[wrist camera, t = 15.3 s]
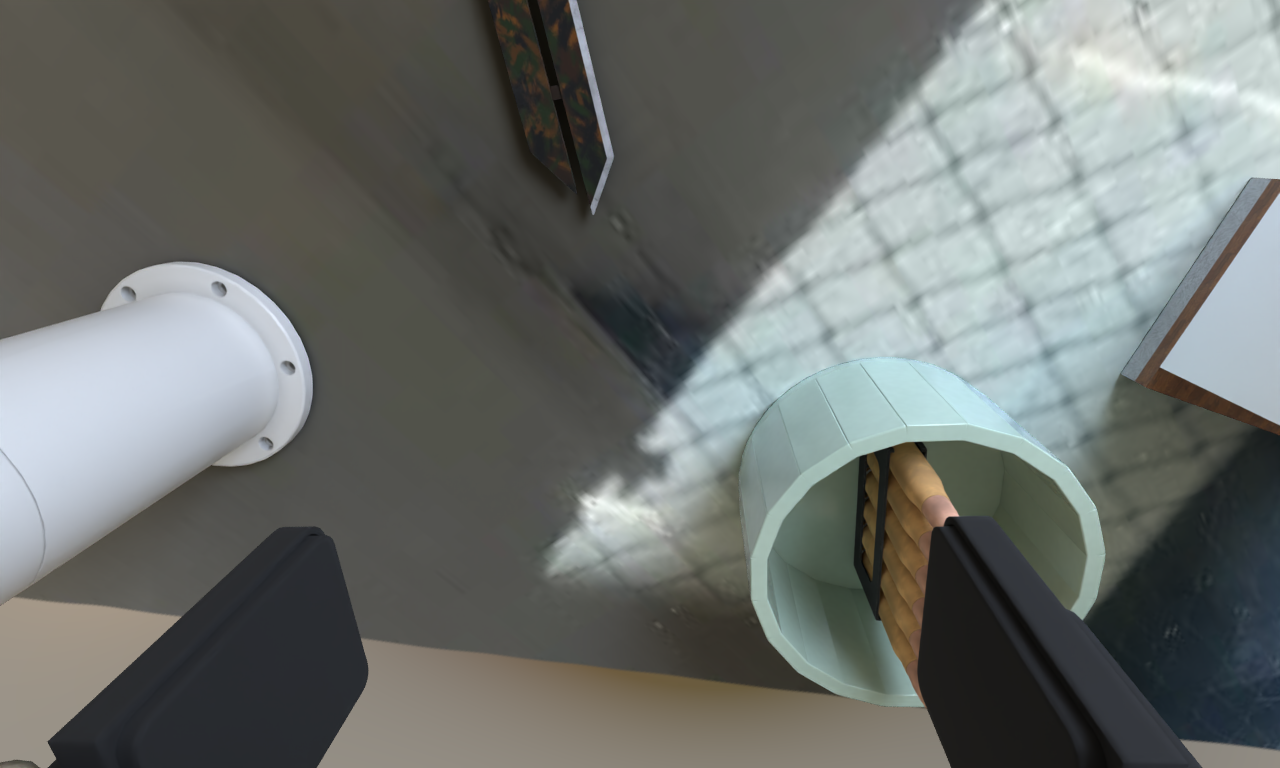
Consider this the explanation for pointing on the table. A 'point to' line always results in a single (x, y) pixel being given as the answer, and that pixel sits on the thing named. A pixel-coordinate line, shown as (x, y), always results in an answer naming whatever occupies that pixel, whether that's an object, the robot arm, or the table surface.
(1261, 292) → the architectural tower model
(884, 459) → the ammunition clip
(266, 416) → the robot arm
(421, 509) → the table surface
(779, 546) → the pale green bowl
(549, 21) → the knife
